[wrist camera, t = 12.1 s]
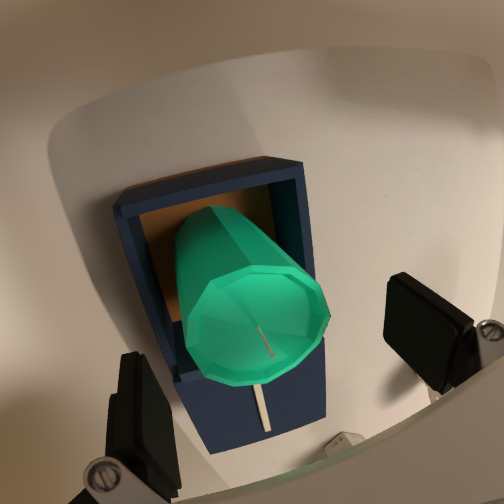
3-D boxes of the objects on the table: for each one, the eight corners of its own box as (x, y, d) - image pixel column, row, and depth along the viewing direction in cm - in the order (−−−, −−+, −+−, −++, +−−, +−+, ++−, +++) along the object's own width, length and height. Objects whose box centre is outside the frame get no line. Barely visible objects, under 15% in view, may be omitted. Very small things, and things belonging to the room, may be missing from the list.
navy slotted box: (126, 187, 20) (107, 210, 13) (265, 155, 22) (312, 163, 15) (196, 395, 28) (210, 457, 21) (294, 366, 29) (327, 419, 23)
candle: (253, 197, 21) (349, 262, 10) (262, 277, 23) (342, 385, 12) (164, 214, 20) (168, 305, 9) (182, 295, 22) (208, 427, 11)
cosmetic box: (321, 448, 37) (358, 511, 26) (343, 429, 37) (385, 492, 26) (345, 451, 40) (381, 506, 29) (365, 433, 39) (405, 488, 28)
